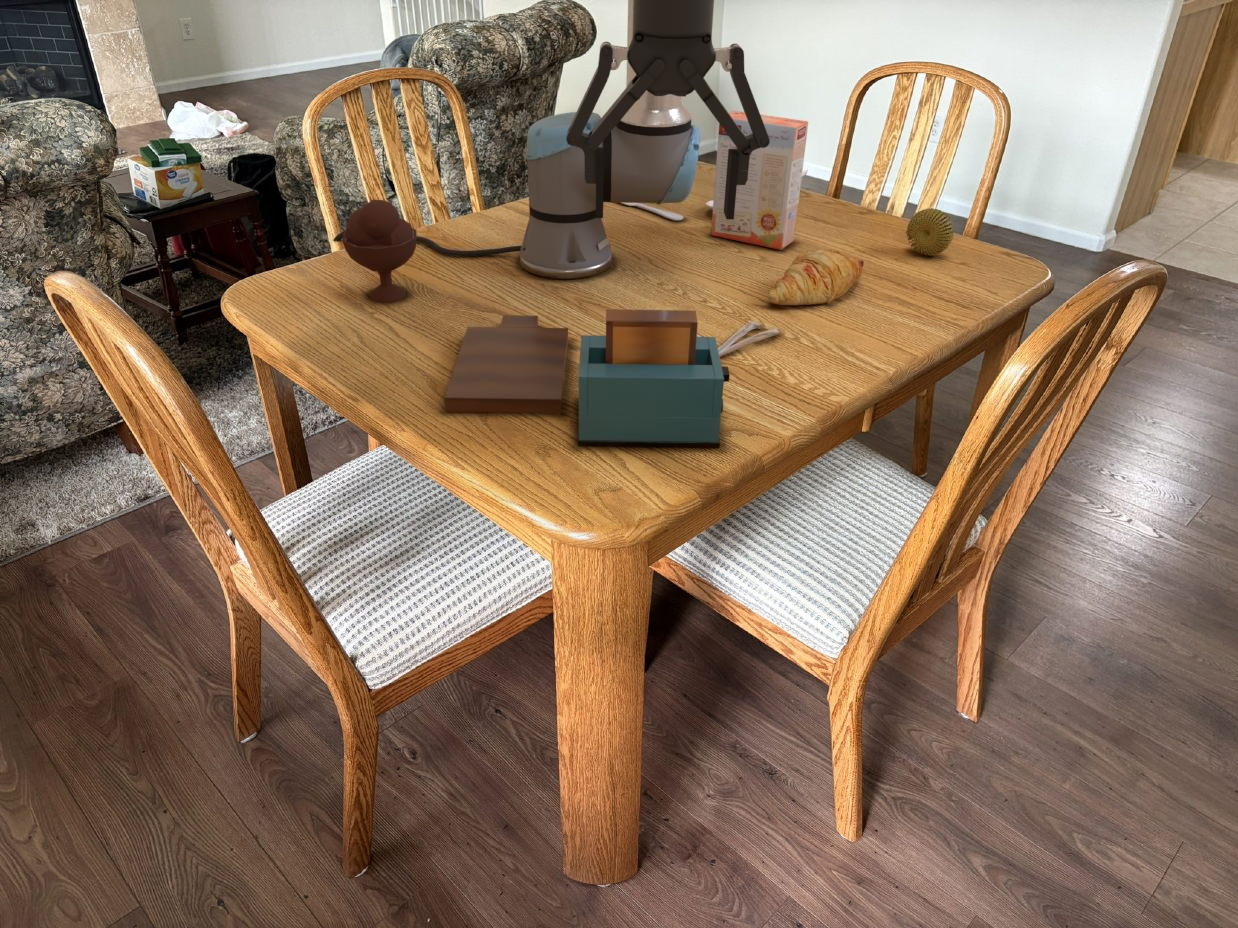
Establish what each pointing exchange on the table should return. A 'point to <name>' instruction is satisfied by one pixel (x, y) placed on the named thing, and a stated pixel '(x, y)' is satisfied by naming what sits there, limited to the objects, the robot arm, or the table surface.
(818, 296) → the croissant
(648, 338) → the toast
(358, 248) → the ice cream bowl
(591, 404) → the toaster
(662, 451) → the table surface
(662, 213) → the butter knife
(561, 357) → the bread board
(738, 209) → the cracker box
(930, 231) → the sea urchin shell
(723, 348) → the tweezers
